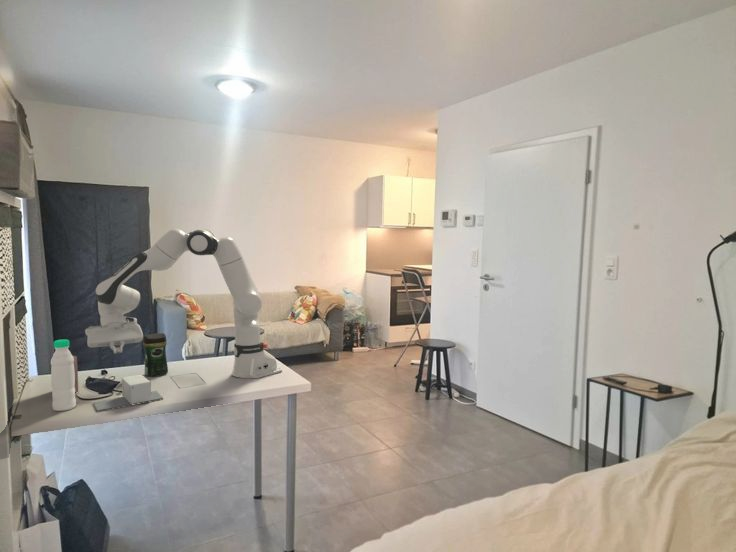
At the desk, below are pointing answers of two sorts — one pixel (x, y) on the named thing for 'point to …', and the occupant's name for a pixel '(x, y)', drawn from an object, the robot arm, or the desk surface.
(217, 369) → the desk surface
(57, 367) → the water bottle
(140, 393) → the supplement box
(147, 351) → the coffee jar
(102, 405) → the mat
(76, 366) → the greeting card
